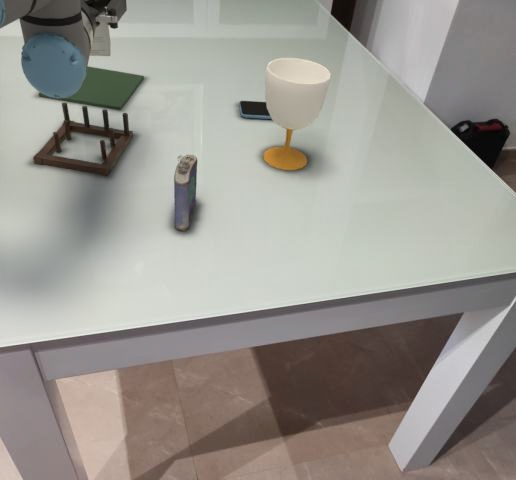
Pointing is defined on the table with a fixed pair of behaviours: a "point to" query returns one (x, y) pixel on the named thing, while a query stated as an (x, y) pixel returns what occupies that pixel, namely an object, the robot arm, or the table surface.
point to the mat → (105, 88)
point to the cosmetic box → (101, 41)
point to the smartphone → (254, 109)
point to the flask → (185, 191)
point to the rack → (68, 126)
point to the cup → (293, 103)
